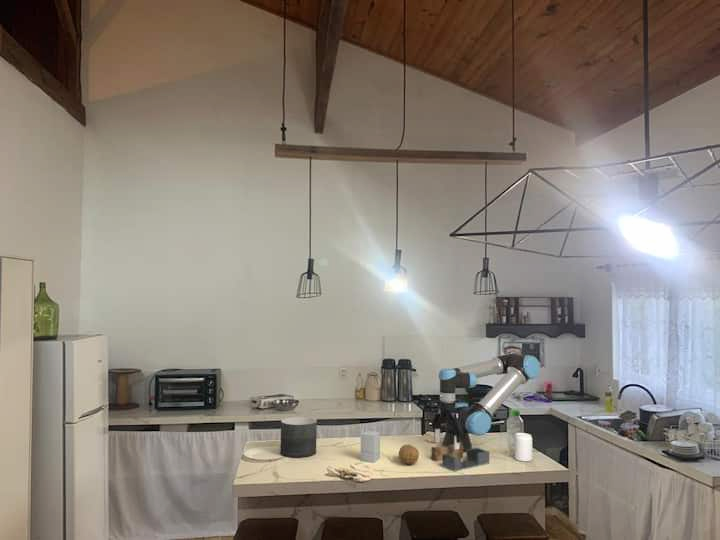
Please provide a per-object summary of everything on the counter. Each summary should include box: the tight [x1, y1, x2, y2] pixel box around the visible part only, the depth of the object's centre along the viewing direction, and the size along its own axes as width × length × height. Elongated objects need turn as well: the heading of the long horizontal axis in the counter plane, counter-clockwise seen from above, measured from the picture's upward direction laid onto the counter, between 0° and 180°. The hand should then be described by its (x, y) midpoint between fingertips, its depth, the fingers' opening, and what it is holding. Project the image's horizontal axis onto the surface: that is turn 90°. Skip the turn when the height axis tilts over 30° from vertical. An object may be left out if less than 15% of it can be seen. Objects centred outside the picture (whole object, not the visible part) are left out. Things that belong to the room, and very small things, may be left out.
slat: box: [431, 444, 464, 462], centre depth 257 cm, size 16×4×6 cm, turn 116°
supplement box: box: [360, 430, 381, 463], centre depth 254 cm, size 7×7×13 cm
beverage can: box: [514, 432, 533, 463], centre depth 256 cm, size 8×8×12 cm
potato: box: [398, 444, 420, 465], centre depth 249 cm, size 10×14×8 cm
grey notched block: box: [441, 447, 490, 473], centre depth 247 cm, size 22×8×6 cm, turn 124°
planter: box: [280, 416, 318, 459], centre depth 264 cm, size 18×18×16 cm
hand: (446, 445), depth 257 cm, fingers open, 13 cm apart
